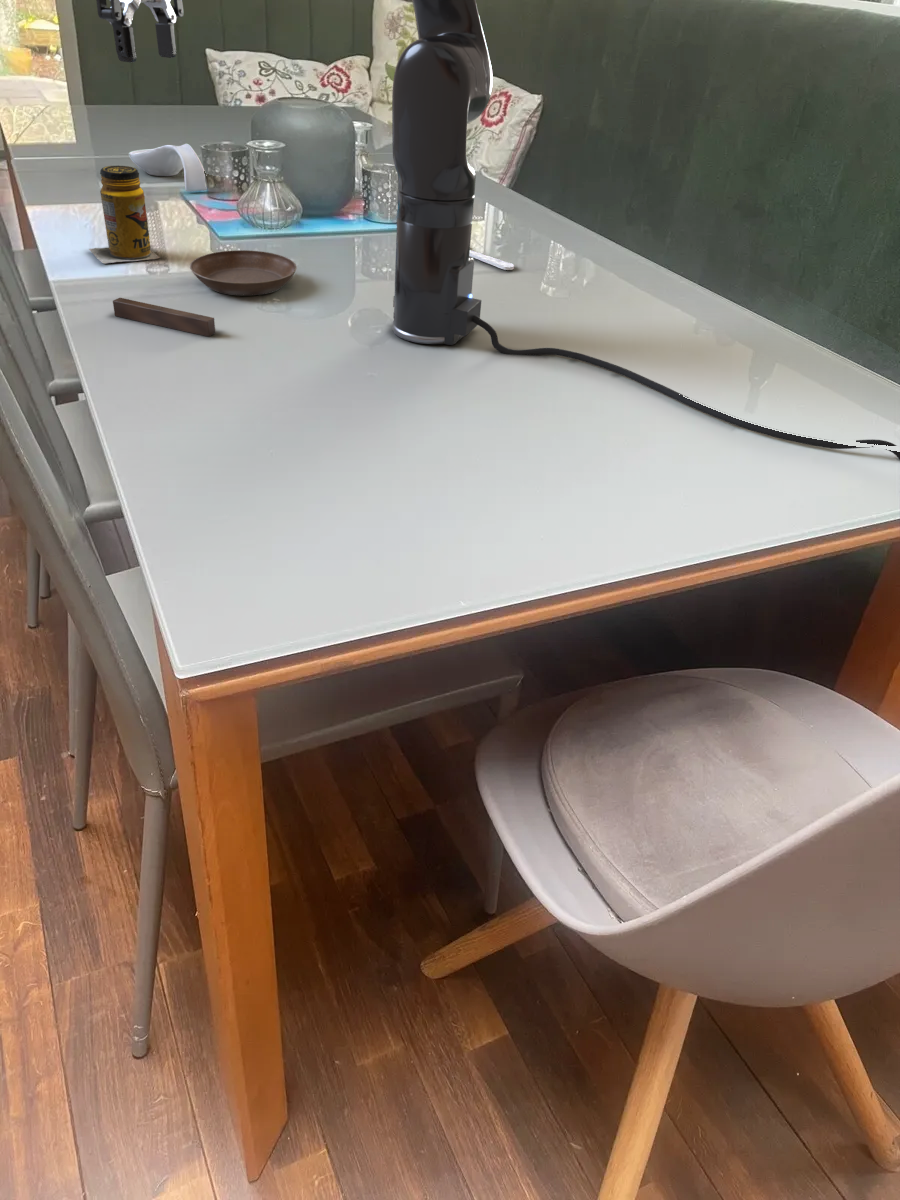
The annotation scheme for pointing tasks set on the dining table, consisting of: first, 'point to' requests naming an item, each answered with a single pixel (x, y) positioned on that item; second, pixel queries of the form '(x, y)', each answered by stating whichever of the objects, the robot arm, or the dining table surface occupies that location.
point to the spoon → (492, 260)
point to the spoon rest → (172, 164)
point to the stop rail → (164, 317)
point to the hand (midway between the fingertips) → (148, 59)
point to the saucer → (243, 272)
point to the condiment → (124, 217)
